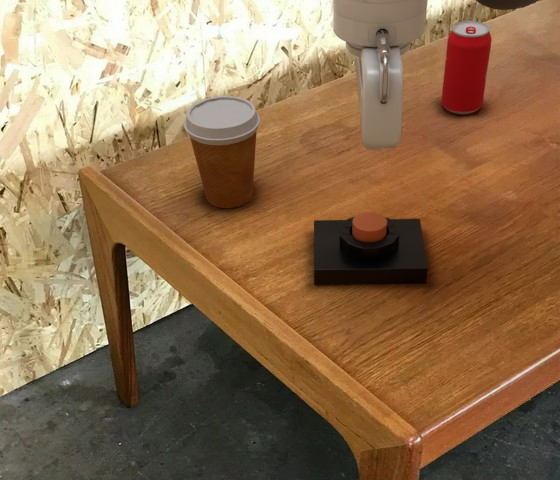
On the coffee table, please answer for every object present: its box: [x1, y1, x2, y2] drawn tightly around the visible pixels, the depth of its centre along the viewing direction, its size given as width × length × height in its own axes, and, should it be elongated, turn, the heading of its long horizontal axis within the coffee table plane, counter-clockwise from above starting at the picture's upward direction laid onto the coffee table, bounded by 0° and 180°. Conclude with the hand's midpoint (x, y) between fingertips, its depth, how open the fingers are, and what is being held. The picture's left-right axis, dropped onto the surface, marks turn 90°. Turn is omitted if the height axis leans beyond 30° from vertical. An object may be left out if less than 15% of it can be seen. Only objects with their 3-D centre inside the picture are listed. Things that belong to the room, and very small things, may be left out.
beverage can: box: [440, 20, 492, 115], centre depth 117 cm, size 6×6×12 cm
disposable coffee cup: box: [183, 95, 261, 209], centre depth 102 cm, size 10×10×12 cm
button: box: [352, 211, 387, 242], centre depth 92 cm, size 4×4×2 cm
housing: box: [313, 215, 429, 286], centre depth 94 cm, size 13×10×4 cm
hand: (373, 144), depth 85 cm, fingers closed
